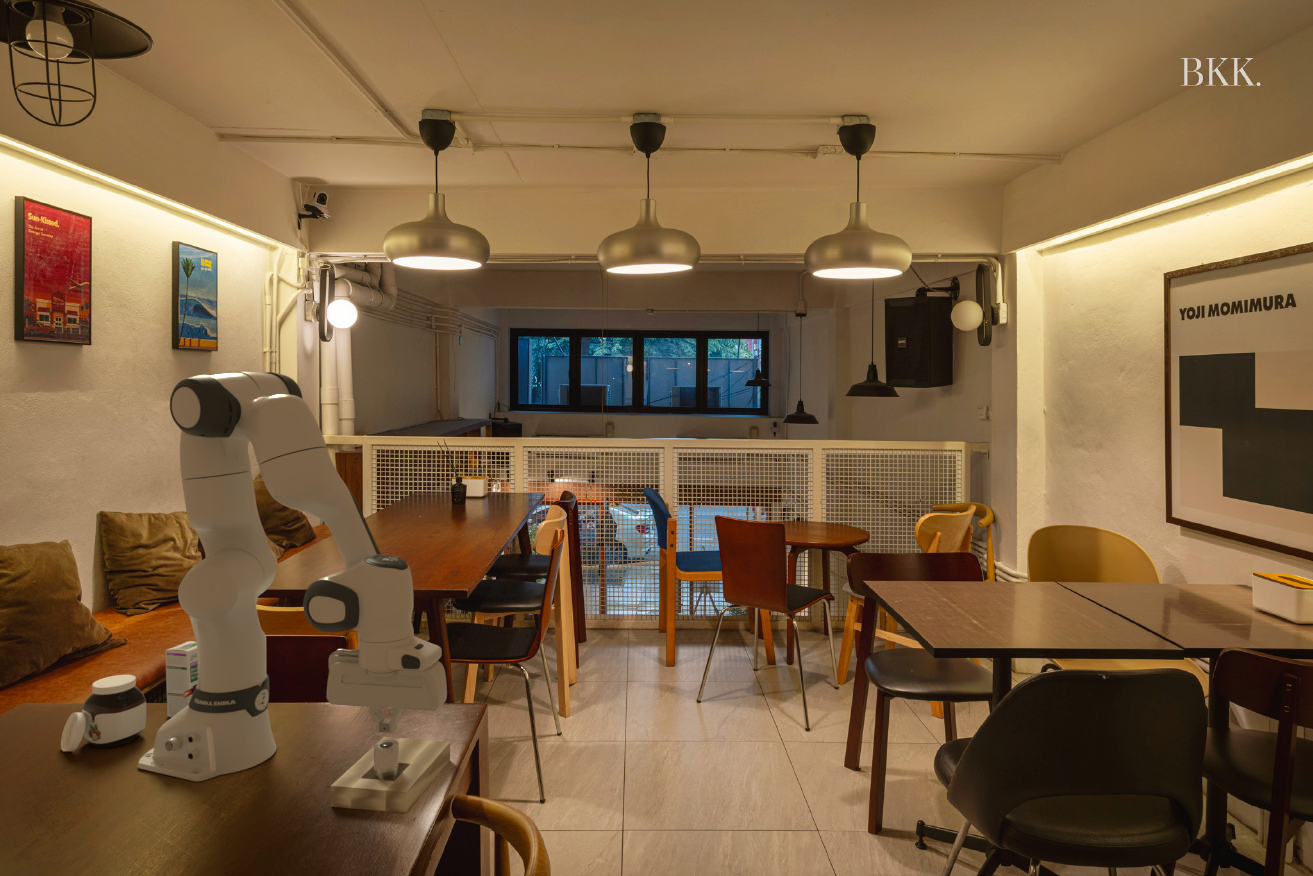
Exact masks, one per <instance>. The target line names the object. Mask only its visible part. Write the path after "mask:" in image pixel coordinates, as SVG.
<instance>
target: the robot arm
mask: <svg viewBox="0 0 1313 876" xmlns="http://www.w3.org/2000/svg"><path fill="white" fill-rule="evenodd" d="M303 399H304V398H303V395H302V391H301V387H300V386H299V385H298V383H297V382H296V381H295V380H294V379H293V378H291V377H289V376H288V375H285V374H283V373H282V374H281V373H278V372H272V371H268V372H267V371H266V372H258V371H257V372H256V371H234V372H227V373H219V374H211V375H209V374H198V375H194V376H191V377H187V378H184V379H182V380H180V381H179V382H178V383H177V384H176V385H175V386H174V388H173V389H172V392H171V395H170V399H169V409H170V410H169V411H170V415H171V417H172V420H173V422H174V423H175V424H176V426H177V427H178V428H179V429H180V431H181V432H180V440H179V468H180V475H181V478H180V479H181V483H182V490H183V492H182V493H183V499H184V504H185V511H186V519H187V521H188V524H189V525H190V526H191V527H192V528H193V529H194V531H195V532H196V534H197V536H198V538H199V540H200V543H201V545H202V547H203V550H204V554H205V558H203V559H202V560H199V561H198V562H197V563H195V564H194V565H193V566H191V568H190V569H189V571H187V572H186V574H185V576H183V579H182V580H181V581H180V584H179V586H178V591H177V595H178V597H177V598H178V602H179V604H180V607H181V608H182V609H183V611H184V612H185V613H186V614H187V615H189V616H188V617H189V619H190V623H191V627H192V629H193V633H194V637H195V641H196V644H197V661H198V684H196V685H194V686H193V688H191V689H189V690H187V691H185V692H183V693H186V692H188V693H187V694H186V695H185V696H184V698H185V697H187V696H189V695H191V694H192V697H191V699H190V702H189V705H187V706H186V707H185V708H184V709H182V710H181V711H180V712H178V713H177V714H176V715H174V716H173V717H170V719H168V720H166V721H165V722H164V723H163V724H162V725H161V726H160V727H159V729H158V730H157V732H156V734H155V737H154V742H153V748H151V749H150V750H148V751H147V752H146V753H144V754H143V755H142V756H141V757H140V758H139V761H138V763H137V769H141V770H145V771H147V772H148V771H149V772H153V773H157V774H162V775H166V776H171V777H176V778H179V779H184V780H188V781H192V782H202V781H206V780H208V779H212V778H215V777H218V776H220V775H226V774H233V773H237V772H240V771H244V770H247V769H249V768H253V767H255V766H257V765H261V763H264V762H265V761H267V760H268V759H270V758H271V757H272V756H273V755H274V754H275V752H276V751H277V745H276V742H275V737H274V735H273V730H272V727H271V722H270V715H269V701H270V677H269V675H268V674H267V636H266V633H265V631H263V629H262V626H261V624H260V618H259V615H258V609H257V608H258V607H257V603H258V602H257V600H258V597H260V595H262V594H263V593H264V592H266V590H268V589H269V588H270V586H271V585H272V584H273V582H274V579H275V577H276V575H277V571H278V567H279V565H278V559H277V556H276V554H275V552H274V551H273V550H272V548H271V547H270V545H269V541H268V538H267V535H266V531H265V530H264V527H263V525H262V522H261V519H260V515H259V511H258V506H257V499H256V494H255V493H256V492H255V485H254V479H253V471H252V465H251V460H250V455H249V444H250V443H251V445H252V447H253V450H254V454H255V457H256V462H257V466H258V469H259V471H260V475H261V478H262V481H263V483H264V486H265V488H266V489H267V492H269V495H270V496H271V497H272V499H274V501H276V502H277V503H279V504H280V505H282V506H284V507H287V508H289V509H292V510H296V511H300V512H304V513H306V514H310V515H313V516H315V517H316V518H318V519H320V521H322V522H323V523H324V524H325V525H326V526H327V528H328V529H329V530H330V533H331V534H332V537H333V539H334V541H335V543H336V546H337V548H338V550H339V553H340V554H341V557H342V559H343V561H344V563H345V564H344V565H345V569H344V570H340V571H337V572H334V573H331V574H328V575H326V576H324V577H321V578H319V579H318V580H317V579H316V580H315V581H314V582H312V583H311V584H310V585H309V586H308V587H307V589H306V590H305V594H304V597H303V603H302V605H303V611H304V613H303V614H304V615H305V618H306V619H307V621H308V623H309V624H310V625H311V626H312V627H313V628H314V629H316V630H318V631H319V632H322V633H326V634H327V633H329V634H330V633H339V632H346V631H351V630H354V631H355V632H356V631H357V635H358V642H357V643H358V649H345V648H337V649H336V651H333V652H332V653H330V655H329V657H328V670H329V671H328V678H327V683H326V685H327V687H326V700H327V702H329V704H330V705H331V706H349V707H363V708H369V714H370V716H371V717H372V719H373V721H374V722H375V724H376V725H375V726H376V727H375V728H376V732H377V733H387V734H388V733H389V734H394V733H395V732H396V731H397V730H398V720H399V718H400V717H401V714H402V713H403V711H404V710H412V711H423V712H425V711H426V712H436V711H438V710H439V709H441V707H442V706H443V705H444V704H445V703H446V701H447V696H448V690H447V689H448V687H447V686H448V685H447V676H446V671H445V668H444V665H443V664H442V662H440V661H439V659H441V657H442V654H443V652H442V648H441V646H439V645H437V644H434V643H431V642H429V641H426V640H424V639H422V638H419V636H415V633H414V632H415V631H414V630H415V629H414V627H413V626H414V625H413V623H412V613H413V611H414V584H413V582H414V581H413V577H412V576H413V575H412V571H411V568H410V565H409V564H408V562H407V561H406V560H404V559H403V558H401V557H399V556H397V555H391V554H382V553H381V551H380V549H379V547H378V545H377V543H376V541H375V538H374V536H373V534H372V532H371V529H370V527H369V525H368V522H367V520H366V518H365V516H364V514H363V511H362V510H361V507H360V505H359V503H358V501H357V499H356V497H355V495H354V493H353V492H352V490H351V489H350V487H349V486H348V485H347V484H346V483H345V482H344V480H343V479H342V478H341V476H340V474H339V473H338V470H337V469H336V465H334V462H333V460H332V458H331V455H330V452H329V450H328V446H327V444H326V440H325V438H324V435H323V433H322V430H321V428H320V425H319V424H318V422H317V420H316V418H315V416H314V414H313V412H312V411H311V408H310V407H309V405H308V404H307V402H306V401H305V400H303ZM383 709H389V712H390V713H389V714H390V715H392V717H391V718H386V717H385V716H384V714H383V711H382V710H383Z"/></svg>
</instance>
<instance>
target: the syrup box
mask: <svg viewBox="0 0 1313 876" xmlns="http://www.w3.org/2000/svg"><path fill="white" fill-rule="evenodd" d="M165 676H166V677H165V679H166V680H165V681H166V706H167V709H166V711H167V712H166V714H167V717H169V718H172V717H173V716H174V715H176V714H177V713H178V712H180V711H181V710H182V709H184V708H185V707H186V706H187V705H189V702H190V699H191V697H192V694H191V695H189V696H187V697H185V698H184V696H185V695H186V694H187V693H188V692H186V693H183V692H185V691H187V690H189V689H191V688H193V686H194V685H196V684H198V661H197V644H196V640H195V641H193V640H192V641H191V640H190V641H186V642H184V643H182V644H178V645H176V646H173V647H171V648H167V649H165Z"/></svg>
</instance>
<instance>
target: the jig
mask: <svg viewBox="0 0 1313 876" xmlns="http://www.w3.org/2000/svg"><path fill="white" fill-rule="evenodd" d="M383 740H396V741H398V742H399V777H398V778H397V779H396V780H395V781H387V780H375V779H374V745H373V746H372V747H371V748H369V750H368V751H367V752H366V753H364V754H363V756H361V757H360V758H359V759H358V760H357V761H356V762H355V763H354V764H353V765H352V766H351V767H350V768H348V769H347V770H346V771H345V772H344V773H343V774H341V776H340V777H338V778H337V779H336V780H335V781H334V782H333V783H332V784H331V785H330V807H331V808H333V807H335V808H343V809H344V808H345V809H355V810H365V811H366V810H367V811H377V812H389V813H400V814H407V813H408V811H410V809H411V808H412V807H413V805H414V804H415V803H416V802H417V801H418V799H420V797H422V795H423V794H424V792H425V791H426V790H427V789H428V788H429V786H430V785H431V784H432V783H433V782H434V780H435V779H436V777H438V775H439V774H440V773H441V772H442V771H443V769H444V768H445V767H446V766H447V765H448V763H450V761H451V741H446V740H445V741H442V740H431V739H417V738H407V737H405V738H404V737H391V736H383V737H382V738H381V739H380V740H378V742H380V741H383Z"/></svg>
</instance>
